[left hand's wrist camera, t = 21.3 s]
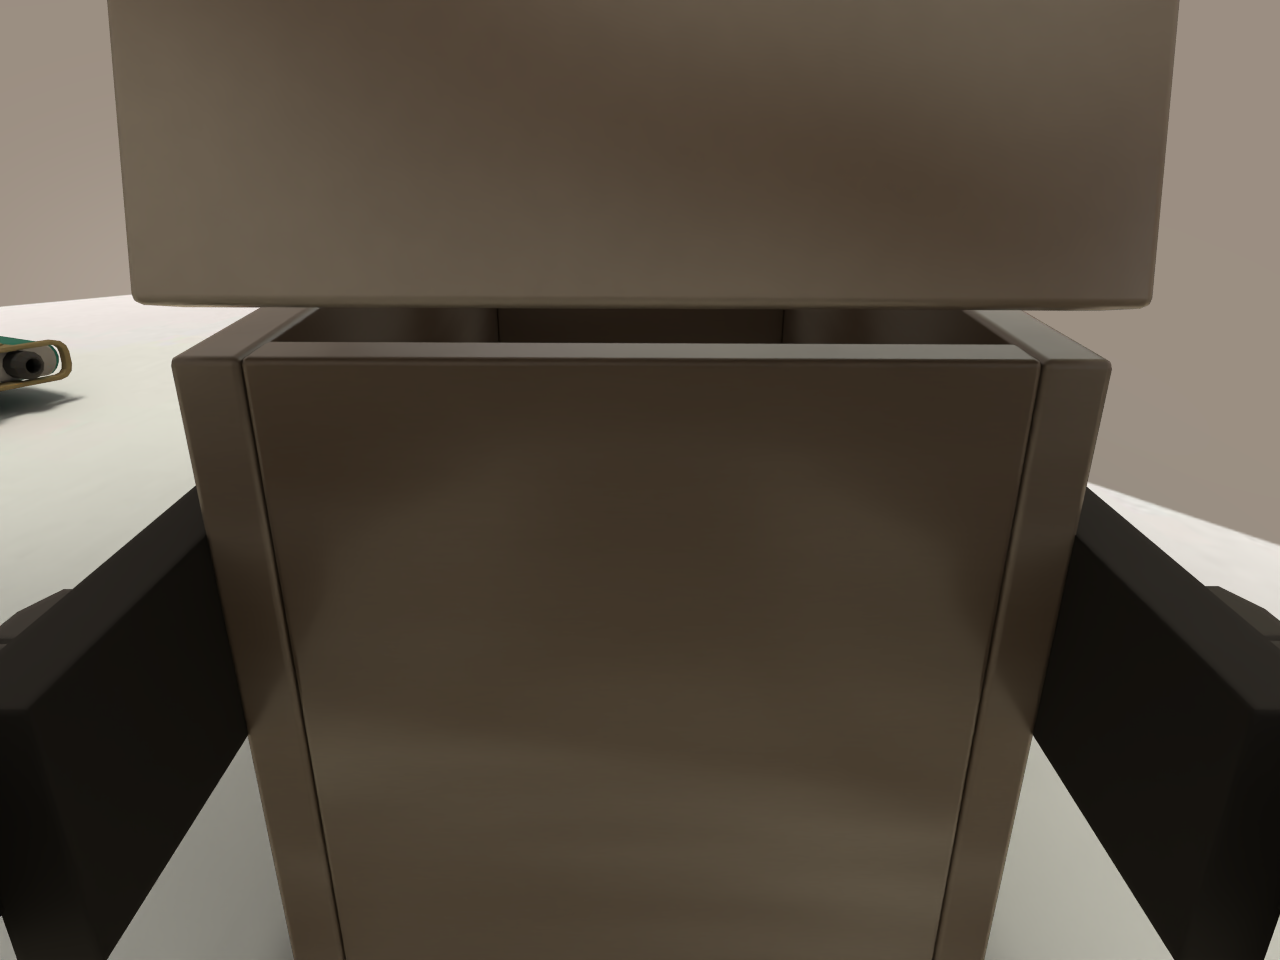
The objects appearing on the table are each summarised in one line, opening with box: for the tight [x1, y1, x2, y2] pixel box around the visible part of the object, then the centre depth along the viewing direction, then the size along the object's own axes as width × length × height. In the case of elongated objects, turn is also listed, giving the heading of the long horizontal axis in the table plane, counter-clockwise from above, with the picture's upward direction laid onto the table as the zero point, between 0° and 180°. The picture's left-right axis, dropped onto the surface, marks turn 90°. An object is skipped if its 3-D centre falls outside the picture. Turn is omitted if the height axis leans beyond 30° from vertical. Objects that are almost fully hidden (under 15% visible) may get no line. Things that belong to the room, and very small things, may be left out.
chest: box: [171, 307, 1112, 960], centre depth 19 cm, size 17×10×10 cm, turn 0°
